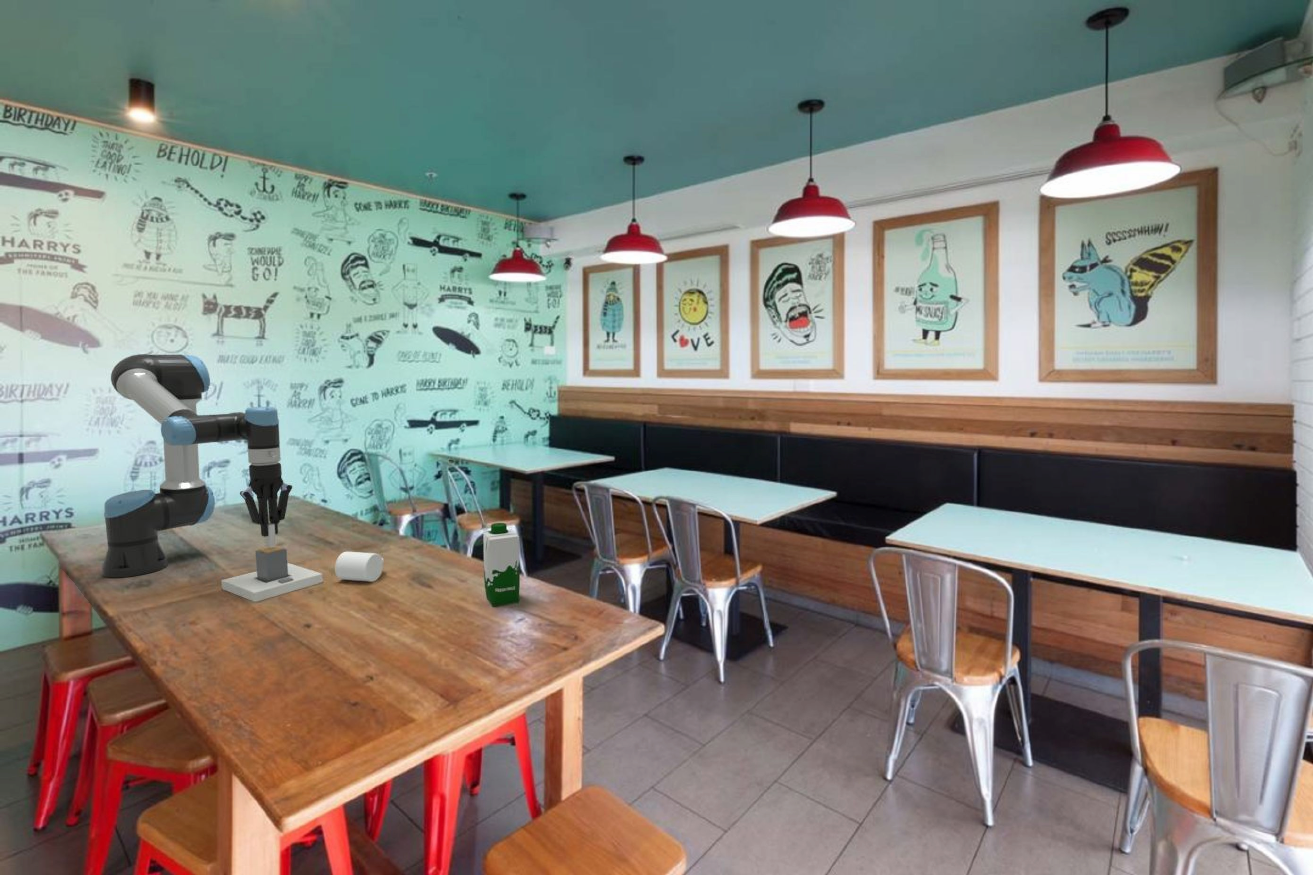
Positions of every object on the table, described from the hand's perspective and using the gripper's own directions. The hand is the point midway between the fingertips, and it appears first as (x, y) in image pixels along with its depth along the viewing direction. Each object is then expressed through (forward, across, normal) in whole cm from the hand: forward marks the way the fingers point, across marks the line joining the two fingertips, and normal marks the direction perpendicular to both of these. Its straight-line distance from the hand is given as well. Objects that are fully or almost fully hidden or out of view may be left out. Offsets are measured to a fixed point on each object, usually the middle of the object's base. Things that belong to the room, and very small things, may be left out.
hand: (270, 546), depth 175 cm
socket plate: (+11, 0, 0) cm, 11 cm away
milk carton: (+12, +27, -62) cm, 69 cm away
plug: (+11, 0, 0) cm, 11 cm away
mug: (+12, +18, -15) cm, 26 cm away
